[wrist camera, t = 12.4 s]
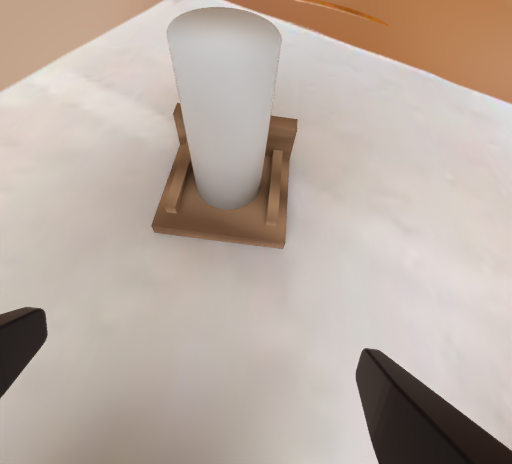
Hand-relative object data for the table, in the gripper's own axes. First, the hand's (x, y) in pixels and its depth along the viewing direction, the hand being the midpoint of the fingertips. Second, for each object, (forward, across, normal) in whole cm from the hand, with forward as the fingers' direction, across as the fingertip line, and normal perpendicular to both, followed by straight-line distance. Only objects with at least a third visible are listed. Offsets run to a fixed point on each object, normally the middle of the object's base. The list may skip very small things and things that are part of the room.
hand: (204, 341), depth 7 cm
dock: (+21, +2, -2) cm, 21 cm away
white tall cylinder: (+20, +2, -2) cm, 20 cm away
